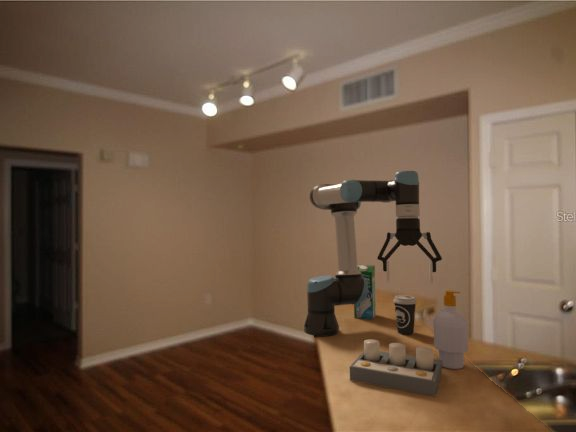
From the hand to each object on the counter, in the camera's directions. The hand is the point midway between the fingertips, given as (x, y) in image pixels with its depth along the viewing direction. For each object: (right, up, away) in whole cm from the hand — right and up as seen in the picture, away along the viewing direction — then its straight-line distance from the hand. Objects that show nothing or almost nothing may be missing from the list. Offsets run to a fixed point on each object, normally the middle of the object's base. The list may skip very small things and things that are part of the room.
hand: (409, 281), depth 123 cm
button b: (-6, -24, -8) cm, 26 cm away
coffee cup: (+10, -28, +34) cm, 45 cm away
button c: (+1, -24, -12) cm, 27 cm away
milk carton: (-2, -28, +62) cm, 68 cm away
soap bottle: (+13, -27, -2) cm, 30 cm away
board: (-7, -27, -10) cm, 30 cm away
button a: (-14, -24, -5) cm, 28 cm away
